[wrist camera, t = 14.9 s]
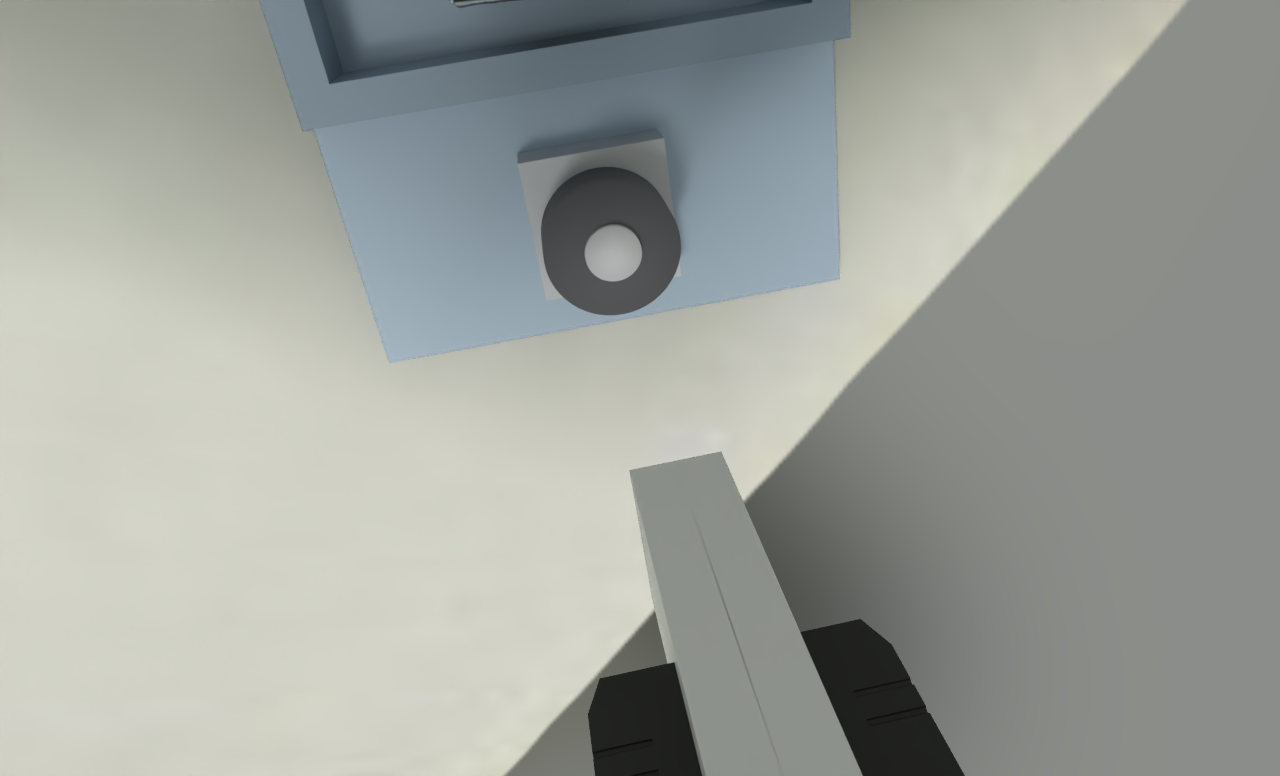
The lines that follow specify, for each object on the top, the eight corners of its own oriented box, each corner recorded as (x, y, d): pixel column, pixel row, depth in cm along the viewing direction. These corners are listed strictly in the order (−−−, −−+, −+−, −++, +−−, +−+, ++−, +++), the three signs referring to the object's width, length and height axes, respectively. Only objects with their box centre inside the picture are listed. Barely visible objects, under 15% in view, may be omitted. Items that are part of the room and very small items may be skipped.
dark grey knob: (552, 286, 31) (557, 330, 27) (527, 167, 29) (530, 198, 25) (670, 265, 31) (689, 305, 28) (654, 145, 29) (673, 173, 25)
